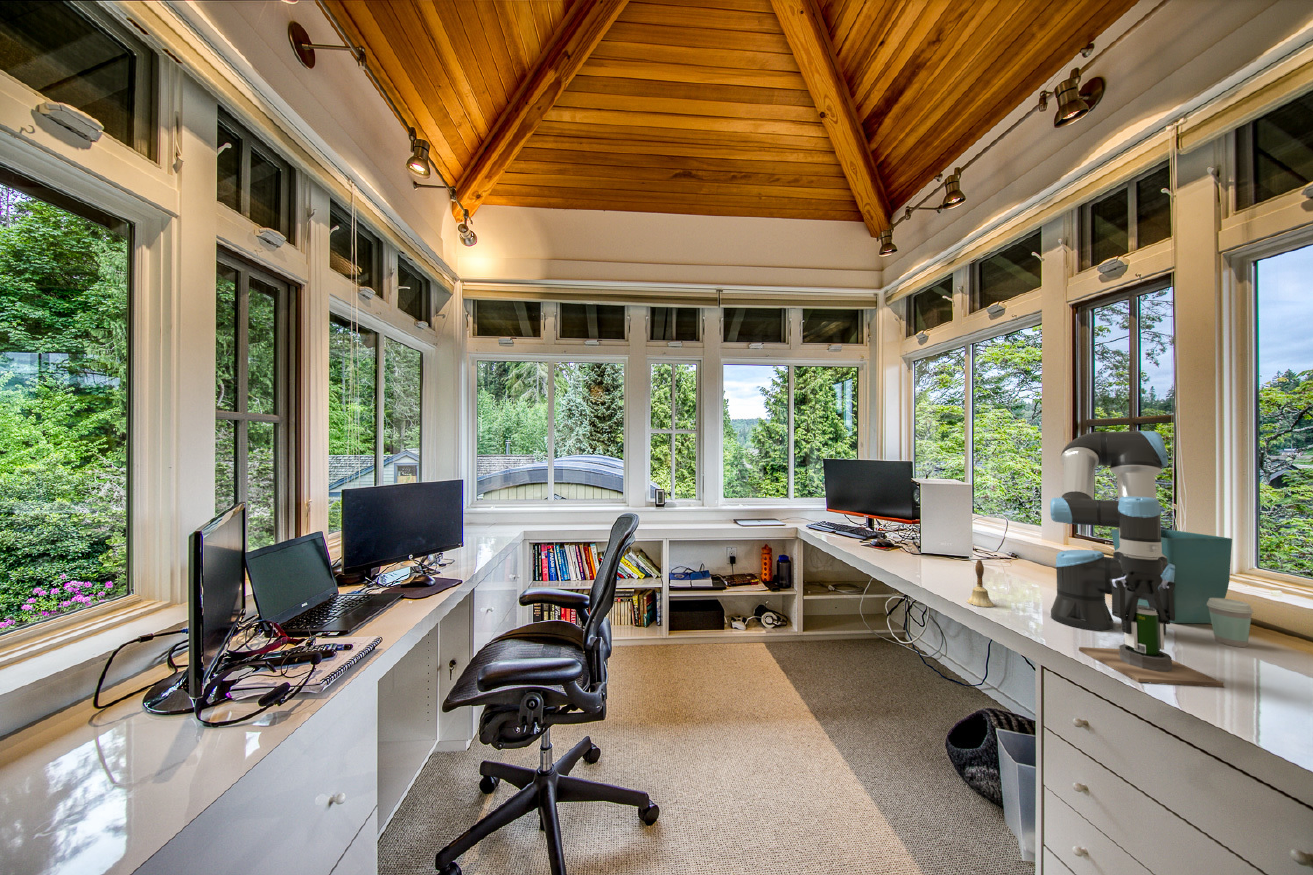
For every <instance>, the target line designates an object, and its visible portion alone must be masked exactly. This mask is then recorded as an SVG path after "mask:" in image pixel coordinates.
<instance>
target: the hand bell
mask: <svg viewBox="0 0 1313 875" xmlns="http://www.w3.org/2000/svg"><path fill="white" fill-rule="evenodd" d="M974 569H975V574H976V579H977V580H976V581H977V582H976V587H973V588H972V591H971V592H972V593H971V596H970V597H969V598H968V599H967V600H966V603H968V604H969V605H971V604H973V605H972V606H975V605H976V606H975V607H980V606H981V608H994V607H995V603H994V602H992V600H991V599H990V597H989V593H988V592H989V591H988V590H987V589H986V588H984V586H983V584H984V582H983V577H984V572H985V568H984V564H983V561H982V560H981V559H977V561H976V563H975V568H974Z"/></svg>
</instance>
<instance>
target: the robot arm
mask: <svg viewBox="0 0 1313 875" xmlns="http://www.w3.org/2000/svg"><path fill="white" fill-rule="evenodd" d="M1060 462H1061V464H1062V466H1063V471H1062V480H1061V488H1060V489H1061V492H1060V497H1053V498H1051V499H1050V504H1049V506H1050V507H1049V508H1050V509H1049V511H1050V519H1051V520H1052V521H1053V522H1055V523H1061V524H1062V523H1063V524H1067V525H1084V526H1097V527H1105V528H1106V527H1107V528H1108V527H1109V528H1117V529H1119V542H1120V547H1119V548H1118V549H1117V550H1115V549H1114V551H1112V555H1113V556H1112V557H1110V556H1109V557H1108V556H1105V554H1104V552H1103V551H1099V550H1093V549H1069V550H1061V551H1059V552H1057V553H1056V556H1055V557H1056V558H1055V568H1056V596H1055V599H1054V601H1053V604H1052V606H1051V608H1050V618H1051V619H1052V620H1054V621H1056V622H1058V623H1060V624H1064V625H1067V626H1070V627H1075V628H1079V629H1085V630H1091V631H1113V630H1114V629H1115V625H1114V624H1115V623H1114V619H1113V616H1114V617H1116V618H1118V619H1120V620H1121V631H1122V633H1124V644H1126V645H1128V646H1131V647H1133V648H1138V643H1137V623H1136V622H1133V618H1134V615H1135V611H1136V607H1137V604H1138V600H1139V599H1142V600H1146V601H1148V604H1149V607H1152V608H1155V609H1157V613H1158V617H1159V642H1160V651H1161V650H1163V651H1164V650H1165V636H1166V635H1167V625H1170V624H1171V623H1172V622H1170V621H1175V607H1174V595H1173V591H1174V588H1175V583H1174V575H1175V566H1174V565H1172V564H1170V563H1169V564H1168V562H1167V557H1166V556H1165V555H1163V554H1162V544H1161V529H1162V521H1161V514H1162V509H1161V505H1160V501H1159V499H1158V498H1157V486H1156V476H1158V475H1160V474H1161V473H1162V472H1163V470H1162V468H1165V467H1168V466H1169V460H1168V455H1167V448H1166V445H1165V441H1164V439H1163V437H1162V434H1160V433H1159V432H1157V431H1155V430H1153V431H1152V430H1147V431H1146V430H1134V431H1133V430H1130V431H1095V432H1089V433H1085V434H1083V435H1080V436H1078V437H1077V438H1076V437H1075V438H1074V439H1072V441H1070V442H1069V443H1068V444H1066V445H1065V447H1064V448H1063V449H1062V451H1061V454H1060ZM1099 466H1101V467H1109V468H1110V469H1109V470H1110V472H1111V473H1112V474H1113V475H1115V476H1116V483H1117V484H1116V485H1117V486H1116V487H1117V500H1111V499H1105V500H1104V499H1095V474H1096V473H1095V472H1096V471H1095V468H1097V467H1099ZM1106 595H1110V596H1111V612H1110V609H1109V607H1108V605H1107V603H1106Z"/></svg>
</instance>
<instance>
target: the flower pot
mask: <svg viewBox="0 0 1313 875" xmlns="http://www.w3.org/2000/svg"><path fill="white" fill-rule="evenodd" d="M1110 532H1111V536H1112V543H1113V548H1114V551H1115V550H1117V549H1118V548H1119V547H1120V542H1119V528H1113V529H1111V530H1110ZM1161 544H1162V554H1163V555H1165V556H1166V557H1167V562H1168V564H1169V563H1170V564H1172V565H1174V566H1175V575H1174V583H1175V588H1174V591H1173V595H1174V607H1175V621H1170V622H1171V623H1172V624H1212V622H1211V617H1210V613H1209V608H1208V606H1207V605H1206V604H1207V602H1208V600H1209V598H1224V599H1226V596H1227V593H1228V588H1229V585H1230V579H1231V578H1230V576H1231V563H1232V561H1231V560H1232V548H1233V547H1232V545H1233V539H1232V538H1230V537H1223V536H1218V535H1211V534H1203V533H1196V532H1189V531H1182V530H1181V531H1180V530H1173V529H1163V528H1161ZM1137 605H1143V606H1148V607H1149V604H1148V601H1146V600H1142V599H1139V600H1138V604H1137Z"/></svg>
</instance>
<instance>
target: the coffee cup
mask: <svg viewBox="0 0 1313 875" xmlns="http://www.w3.org/2000/svg"><path fill="white" fill-rule="evenodd" d="M1206 605H1207V606H1208V608H1209V613H1210V617H1211V622H1212V623H1211V626H1212V631H1213V634H1214V635H1213V636H1214V639H1215V640H1214V641H1215V642H1218V643H1219V642H1220V643H1219V644H1222V645H1226V646H1230V647H1235V646H1236V647H1237V648H1247V647H1248V645H1249V644H1248V643H1249V635H1250V631H1251V630H1250V629H1251V622H1252V614H1253V613H1254V611H1253V609H1252V606H1251V604H1249V603H1247V602H1243V601H1240V600H1235V599H1230V598H1229V599H1228V598H1225V599H1224V598H1209V600H1208V602H1207V604H1206Z"/></svg>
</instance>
